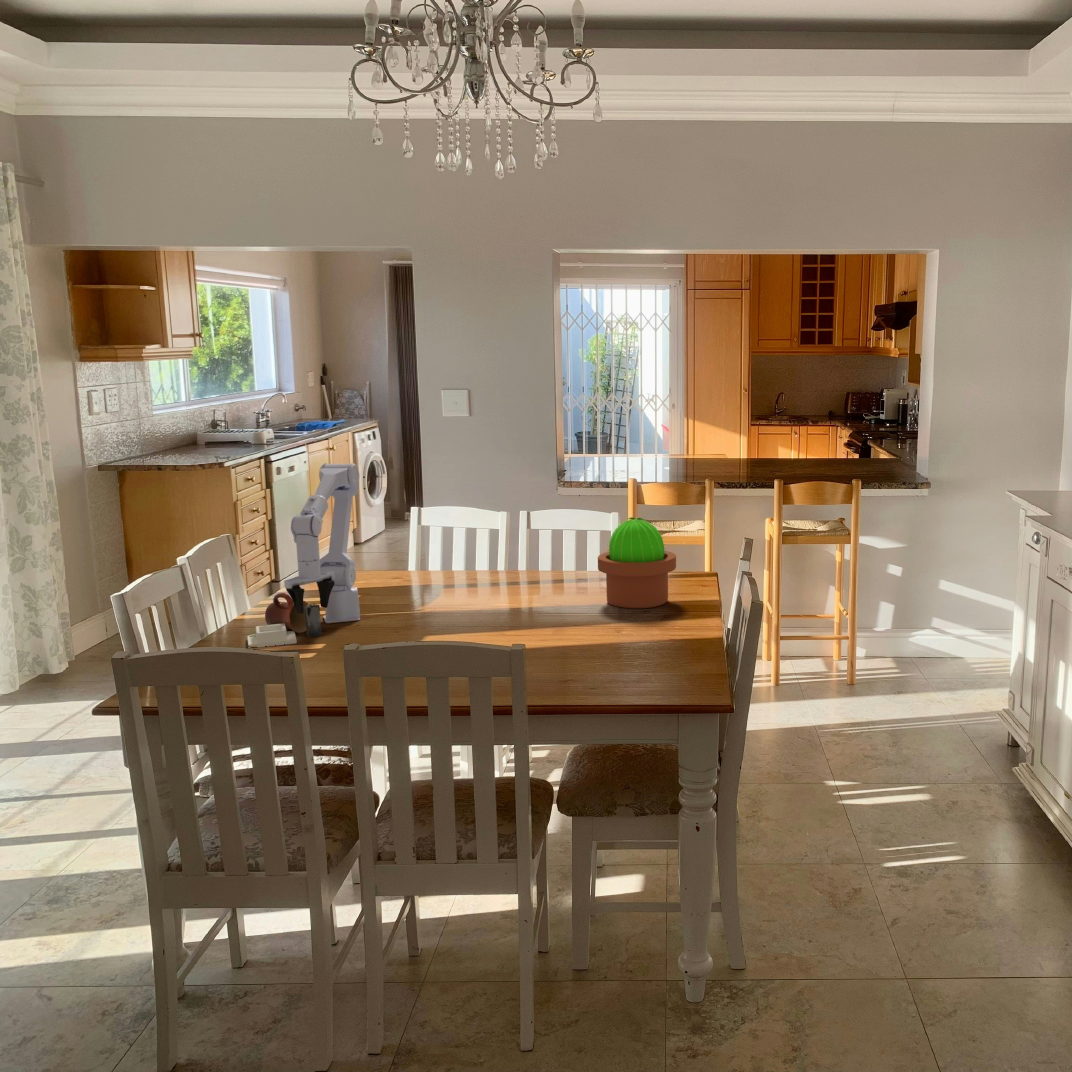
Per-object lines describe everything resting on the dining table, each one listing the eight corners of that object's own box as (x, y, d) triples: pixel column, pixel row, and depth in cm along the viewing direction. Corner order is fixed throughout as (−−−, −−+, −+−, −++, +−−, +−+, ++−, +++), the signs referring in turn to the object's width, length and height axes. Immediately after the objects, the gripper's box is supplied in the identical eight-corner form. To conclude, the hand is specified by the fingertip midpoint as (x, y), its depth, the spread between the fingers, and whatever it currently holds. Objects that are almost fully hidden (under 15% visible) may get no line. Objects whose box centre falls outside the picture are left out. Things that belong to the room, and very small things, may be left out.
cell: (320, 632, 268) (318, 600, 267) (322, 636, 265) (319, 603, 263) (306, 634, 267) (304, 602, 266) (307, 637, 264) (305, 605, 262)
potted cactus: (650, 615, 275) (649, 525, 271) (584, 605, 288) (582, 519, 284) (689, 598, 292) (688, 513, 288) (625, 589, 305) (624, 508, 301)
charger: (294, 634, 267) (293, 621, 267) (296, 643, 259) (295, 630, 258) (247, 639, 264) (246, 626, 263) (248, 648, 255) (247, 635, 255)
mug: (288, 617, 279) (316, 618, 274) (269, 637, 273) (298, 639, 268) (270, 583, 273) (298, 584, 268) (251, 603, 267) (279, 604, 262)
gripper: (322, 553, 270) (325, 602, 273) (276, 562, 260) (280, 613, 262) (338, 556, 265) (341, 606, 268) (291, 565, 255) (295, 617, 257)
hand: (312, 610), depth 265 cm, fingers open, 7 cm apart
